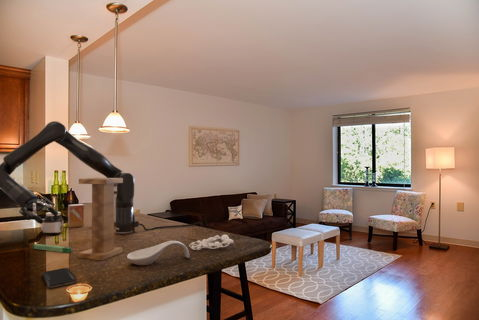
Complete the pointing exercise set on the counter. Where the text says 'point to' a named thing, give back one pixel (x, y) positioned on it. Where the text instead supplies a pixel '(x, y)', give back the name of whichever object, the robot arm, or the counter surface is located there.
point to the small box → (76, 215)
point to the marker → (52, 248)
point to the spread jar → (52, 224)
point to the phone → (59, 277)
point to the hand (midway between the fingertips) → (49, 218)
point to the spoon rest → (153, 253)
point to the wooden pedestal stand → (102, 219)
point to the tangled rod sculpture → (209, 241)
